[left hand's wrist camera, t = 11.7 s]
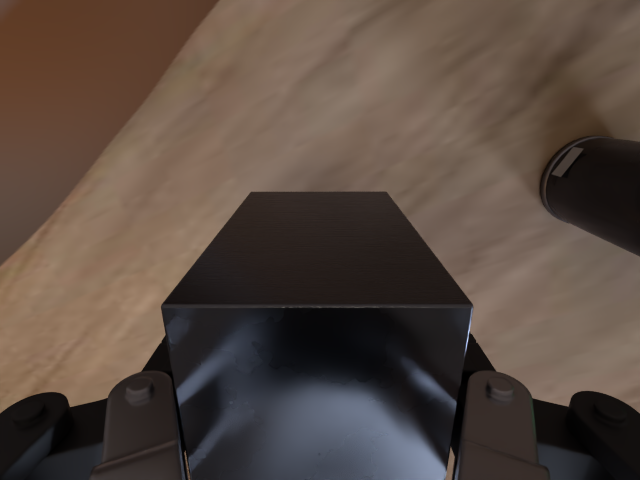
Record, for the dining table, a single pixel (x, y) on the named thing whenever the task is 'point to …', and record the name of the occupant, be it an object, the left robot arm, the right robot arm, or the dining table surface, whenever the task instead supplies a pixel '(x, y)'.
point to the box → (317, 344)
